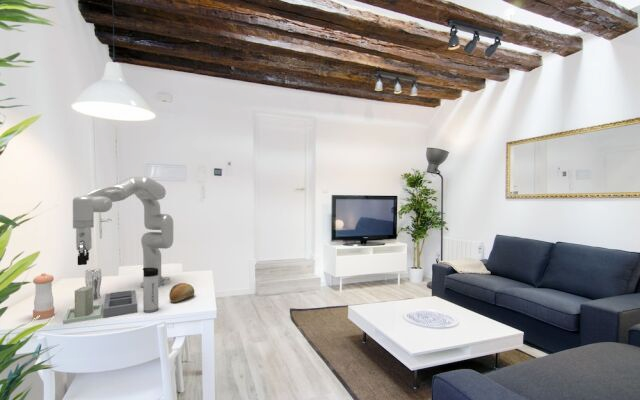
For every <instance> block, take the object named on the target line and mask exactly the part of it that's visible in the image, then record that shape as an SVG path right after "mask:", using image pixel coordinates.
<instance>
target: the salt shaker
mask: <svg viewBox="0 0 640 400" xmlns="http://www.w3.org/2000/svg"><path fill="white" fill-rule="evenodd" d="M54 279H55V278H54V276H53V275H52V274H46V273H41V274H40V275H38V276H35V277H34V278H33V280H32V283H33V284H34V285H35V293H34V294H35V295H34V300H33V310H32V319H33V318H36V317H37V316H39V315H40V317H39V318H38V319H37V320H45V319H48V318H52V317H54V316H55V306H54V296H53V290H52V289H53V288H52V286H53V285H52V282H54ZM53 315H54V316H53ZM37 320H36V321H37Z"/></svg>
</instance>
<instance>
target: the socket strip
mask: <svg viewBox="0 0 640 400" xmlns="http://www.w3.org/2000/svg"><path fill="white" fill-rule="evenodd" d="M136 292H137V291H136V289H132V290H131V289H129V290H123V291H116V292H110V293H105V294H104V295H105V296H104V301H103V302H104V303H103V307H102V312H103V313H102V315H103V317H102V318H103V319H105V318H110V317H118V316H122V315H123V316H124V315H128V314H136V313H138V300H137V293H136Z"/></svg>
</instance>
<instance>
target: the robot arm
mask: <svg viewBox="0 0 640 400" xmlns="http://www.w3.org/2000/svg"><path fill="white" fill-rule="evenodd" d="M133 195H135V197H136V198H138V199H139V200H140V202H141V203H142V204H143V210H144V211H143V217H144V218H143V221H144V222H143V225H144V228H146V229H147V230H150V231H148V232H144V233H143V234H142V236H141V239H140V241H141V243H140V244H141V247H142V253H143V254H142V255H143V263H142V264H143V265H142V266H143V268H157V269H158V287H161V286H163V285H165V281H170V280H171V278H170V276H163V275H162V253H161V249H169V248H171V247H172V246H173V244H174V220H173V217H172V216H171V215H170V214H168V213H167V214H166V213H161V204H160V202H159V201H160V200H164V198H165V197H166V195H167V191H166V188H165V187H164V185H162V184H160V183H159V182H158V181H156V180H154V179H152V178H150V177H147V176H130V177H128V178H125V179H123V180H121V181H120V182H118V183H116V184H114V185H110V186H107V187H103V188H99V189H95V190H92V191H91V192H88V193H85V194H84V195H83V196H76V197H74V198H73V199H72V229H75V244H76V251H78V253H77V265H78V266H83V265H84V266H85V265H88V262H89V260H90V250H91V249H92V247H93V246H92V229H93V228H94V227H95V226H94V224H95V221H94V218H95V217H94V214H95V213H106V212H109V211H110V210H111V209H112V207H113V203H116V202H121V201H124V200H126V199H127V198H129V197H131V196H133ZM158 200H159V201H158ZM151 230H152V231H151ZM143 268H142V271H144V270H143ZM142 275H144V274H143V273H142ZM139 285H140V287H141V288H143V282H141V283H140V284H139Z"/></svg>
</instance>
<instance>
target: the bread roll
mask: <svg viewBox="0 0 640 400" xmlns="http://www.w3.org/2000/svg"><path fill="white" fill-rule="evenodd" d="M194 294H195V288H194V287H193V286H192V285H191V284H190V283H186V282H182V283H177V284H174V285H173V286H172V287H171V289H170V291H169V295H168V296H169V297H168V298H169V300H170V301H171V303H177V302H180V301H183V300H186V299H188V298H191V297H193V296H194Z"/></svg>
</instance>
